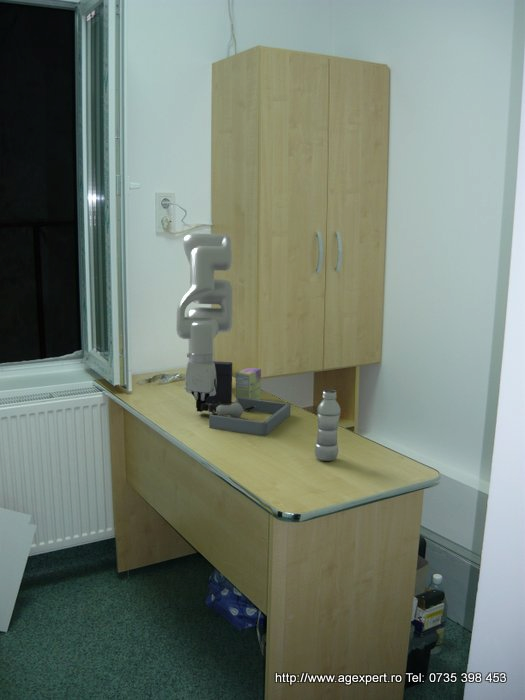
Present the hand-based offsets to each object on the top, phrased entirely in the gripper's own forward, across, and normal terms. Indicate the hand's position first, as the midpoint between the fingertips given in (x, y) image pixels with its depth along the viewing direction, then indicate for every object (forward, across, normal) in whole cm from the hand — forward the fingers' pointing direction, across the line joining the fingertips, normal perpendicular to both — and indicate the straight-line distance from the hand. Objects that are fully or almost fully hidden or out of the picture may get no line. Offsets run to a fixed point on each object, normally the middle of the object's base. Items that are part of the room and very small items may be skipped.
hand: (201, 410), depth 230 cm
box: (+1, +8, +21) cm, 23 cm away
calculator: (+1, -1, +15) cm, 15 cm away
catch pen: (+1, +18, 0) cm, 18 cm away
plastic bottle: (+2, +51, -23) cm, 56 cm away
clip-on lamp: (+1, +9, +3) cm, 10 cm away
